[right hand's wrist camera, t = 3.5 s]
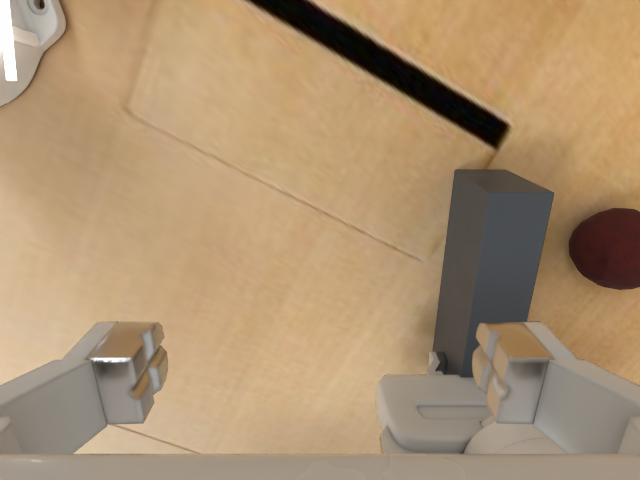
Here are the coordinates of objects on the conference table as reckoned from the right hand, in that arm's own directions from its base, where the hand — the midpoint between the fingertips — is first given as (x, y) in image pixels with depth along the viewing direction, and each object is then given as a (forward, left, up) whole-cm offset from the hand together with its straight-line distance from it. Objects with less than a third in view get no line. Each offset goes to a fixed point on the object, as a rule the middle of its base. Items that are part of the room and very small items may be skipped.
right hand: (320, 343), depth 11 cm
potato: (+8, +27, -30) cm, 41 cm away
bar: (+13, +15, -30) cm, 36 cm away
